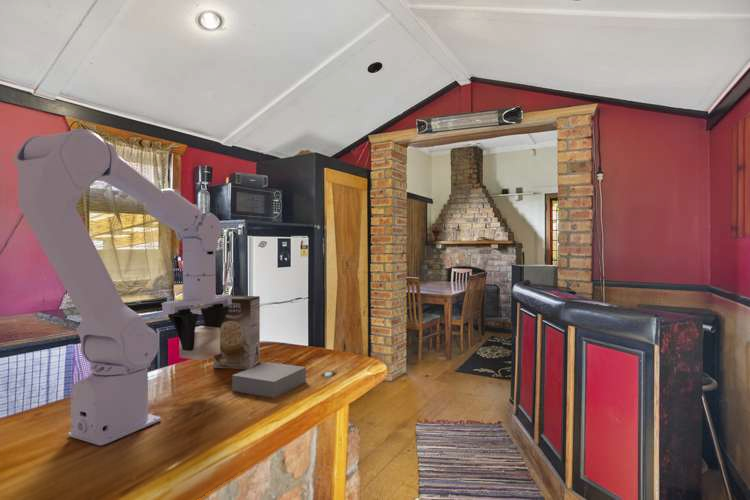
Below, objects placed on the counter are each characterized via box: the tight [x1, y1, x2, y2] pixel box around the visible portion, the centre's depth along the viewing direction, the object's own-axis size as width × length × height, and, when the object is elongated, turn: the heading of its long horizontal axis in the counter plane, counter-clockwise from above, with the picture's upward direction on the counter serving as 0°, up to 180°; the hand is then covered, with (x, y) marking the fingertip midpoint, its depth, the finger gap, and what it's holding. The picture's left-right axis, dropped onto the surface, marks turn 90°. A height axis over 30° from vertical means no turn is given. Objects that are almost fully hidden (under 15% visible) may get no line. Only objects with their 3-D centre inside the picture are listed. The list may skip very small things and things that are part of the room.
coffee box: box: [212, 295, 261, 370], centre depth 96 cm, size 9×6×16 cm
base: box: [231, 361, 307, 399], centre depth 81 cm, size 10×10×3 cm
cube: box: [178, 325, 220, 361], centre depth 78 cm, size 5×5×5 cm
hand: (200, 346), depth 78 cm, fingers closed on cube, 5 cm apart
